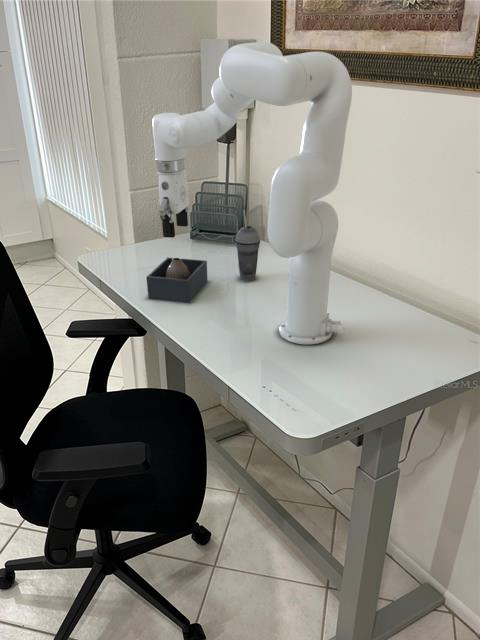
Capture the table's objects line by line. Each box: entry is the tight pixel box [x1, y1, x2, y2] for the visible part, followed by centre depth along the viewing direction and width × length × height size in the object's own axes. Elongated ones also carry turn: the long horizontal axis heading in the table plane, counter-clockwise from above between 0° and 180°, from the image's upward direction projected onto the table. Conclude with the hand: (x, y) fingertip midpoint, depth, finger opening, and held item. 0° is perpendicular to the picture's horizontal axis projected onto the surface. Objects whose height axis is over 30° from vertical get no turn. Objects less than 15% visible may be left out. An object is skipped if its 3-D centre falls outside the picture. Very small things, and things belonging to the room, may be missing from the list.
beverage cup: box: [234, 209, 261, 282], centre depth 169 cm, size 7×7×20 cm
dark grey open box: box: [145, 257, 209, 304], centre depth 168 cm, size 12×15×7 cm
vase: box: [166, 257, 190, 280], centre depth 167 cm, size 7×7×9 cm
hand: (176, 231), depth 160 cm, fingers open, 9 cm apart
